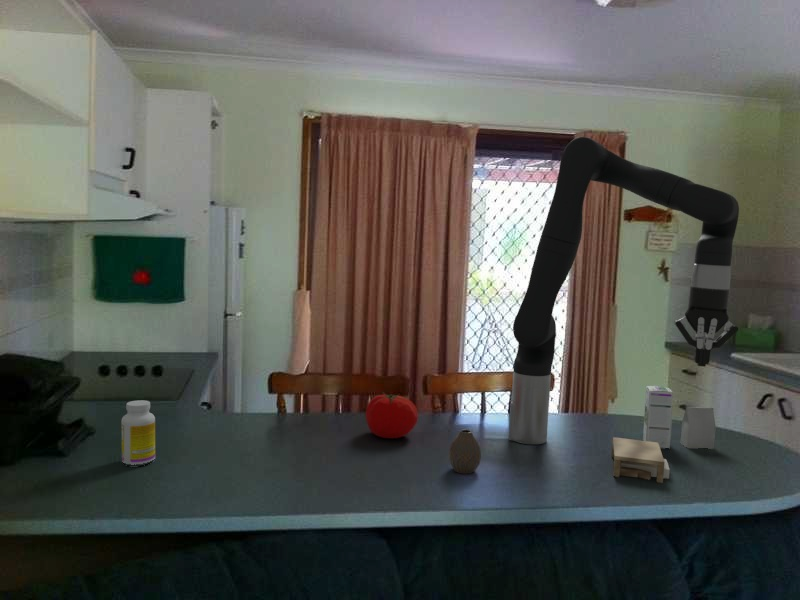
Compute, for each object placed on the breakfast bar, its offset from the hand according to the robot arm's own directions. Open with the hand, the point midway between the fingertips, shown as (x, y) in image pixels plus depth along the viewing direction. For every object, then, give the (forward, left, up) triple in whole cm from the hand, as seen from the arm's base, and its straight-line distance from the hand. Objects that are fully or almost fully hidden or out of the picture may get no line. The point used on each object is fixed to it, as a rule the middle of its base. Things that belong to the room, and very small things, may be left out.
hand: (701, 365), depth 140 cm
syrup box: (-6, +20, -25) cm, 32 cm away
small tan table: (-12, -1, -25) cm, 27 cm away
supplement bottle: (-114, -39, -25) cm, 123 cm away
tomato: (-70, 0, -25) cm, 74 cm away
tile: (-10, -1, -25) cm, 27 cm away
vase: (-48, -17, -25) cm, 56 cm away
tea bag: (+4, +23, -25) cm, 34 cm away
